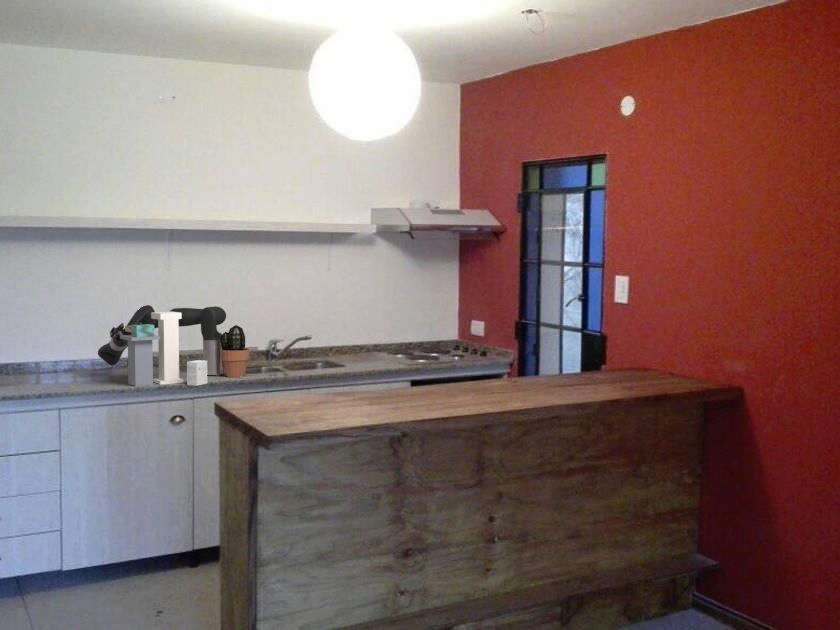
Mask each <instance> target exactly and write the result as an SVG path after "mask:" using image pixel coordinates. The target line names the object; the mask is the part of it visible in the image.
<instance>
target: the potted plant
mask: <svg viewBox="0 0 840 630" xmlns="http://www.w3.org/2000/svg"><path fill="white" fill-rule="evenodd" d="M221 334H222V335H221V340H220V343H221V347H222V349H221V360H223V364H224V374H225V376H227V377H226V378H230V377H238V378H241V377H240V376H244V377H245V376H246V372H247V371H246V370H247V366H248V362H249V360H250V352H251V349H250V348H247V347H246V335H245V332H244V329H243V328H242V327H240V326H239V325H237V324H234V325H233V326H232V327H230V328H229V330H228V332H227V331H225V332H223V333H221Z"/></svg>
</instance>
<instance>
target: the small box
mask: <svg viewBox="0 0 840 630" xmlns="http://www.w3.org/2000/svg"><path fill="white" fill-rule="evenodd" d="M186 380H187V381H186V383H187V386H193V387H194V386H195V387H197V386H201V385H206V384H208V376H207V361H204V360H203V359H202V360H200V359H196V360H190V361H187V362H186Z"/></svg>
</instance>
